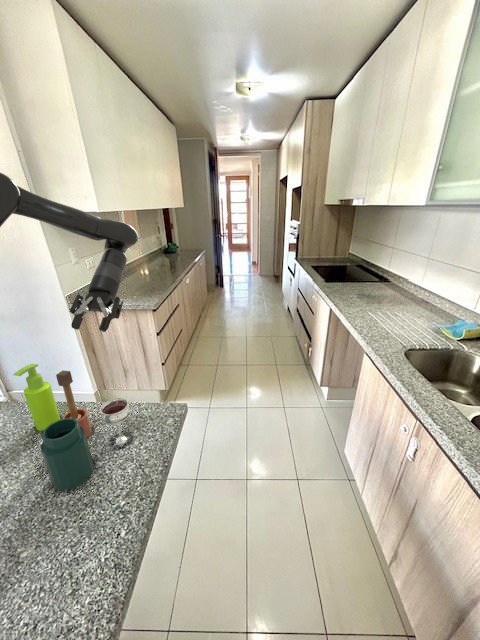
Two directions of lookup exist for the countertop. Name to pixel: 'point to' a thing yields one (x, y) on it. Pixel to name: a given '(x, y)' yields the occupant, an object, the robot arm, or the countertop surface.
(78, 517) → the countertop surface
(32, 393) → the soap dispenser
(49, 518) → the countertop surface
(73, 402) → the brush
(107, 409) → the wineglass
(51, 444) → the bottle
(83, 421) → the brush cup
